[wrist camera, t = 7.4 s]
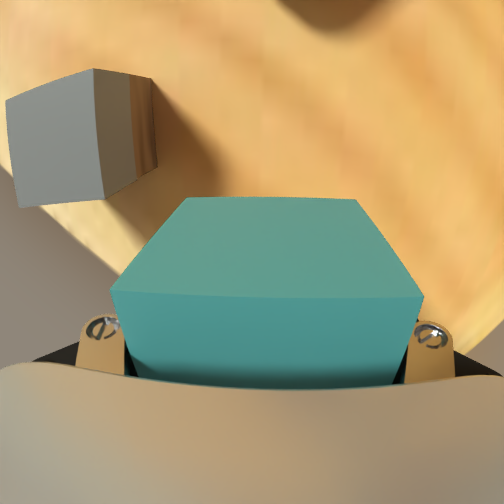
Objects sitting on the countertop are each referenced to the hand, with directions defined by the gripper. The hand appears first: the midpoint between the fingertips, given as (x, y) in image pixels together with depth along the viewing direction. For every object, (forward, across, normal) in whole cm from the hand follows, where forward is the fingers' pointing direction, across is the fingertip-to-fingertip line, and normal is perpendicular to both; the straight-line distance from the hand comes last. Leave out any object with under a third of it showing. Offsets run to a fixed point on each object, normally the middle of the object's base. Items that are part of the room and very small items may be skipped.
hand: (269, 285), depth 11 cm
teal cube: (+1, 0, 0) cm, 1 cm away
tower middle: (+11, +14, -5) cm, 19 cm away
